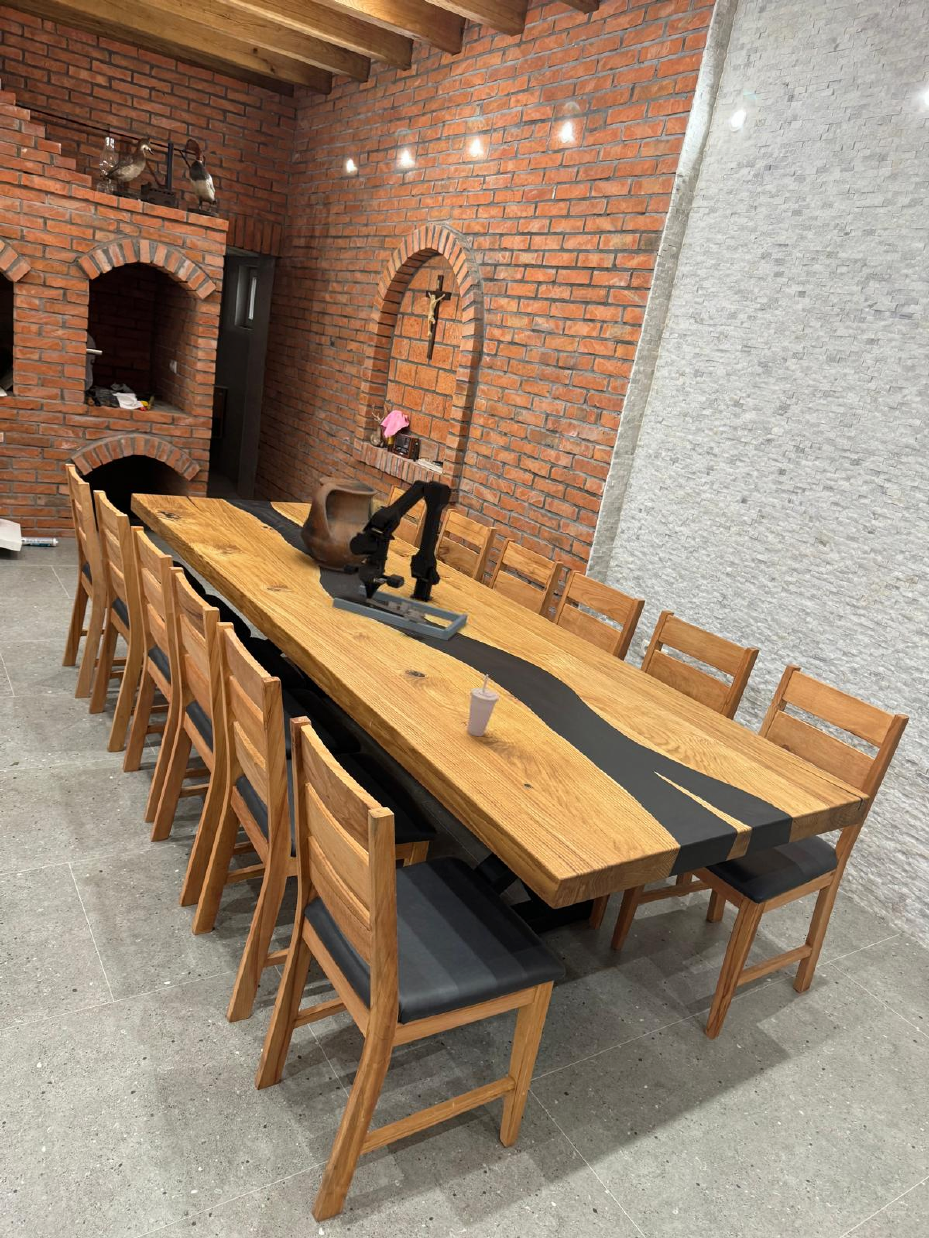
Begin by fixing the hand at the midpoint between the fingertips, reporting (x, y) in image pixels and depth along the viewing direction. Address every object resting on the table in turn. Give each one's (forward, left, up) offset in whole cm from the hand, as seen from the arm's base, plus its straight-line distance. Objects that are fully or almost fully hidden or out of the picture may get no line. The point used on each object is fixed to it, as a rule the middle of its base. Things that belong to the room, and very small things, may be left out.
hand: (368, 600), depth 256 cm
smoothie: (+65, +54, -2) cm, 84 cm away
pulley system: (+6, +14, 0) cm, 15 cm away
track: (0, +11, -1) cm, 11 cm away
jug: (-35, -27, -2) cm, 44 cm away
